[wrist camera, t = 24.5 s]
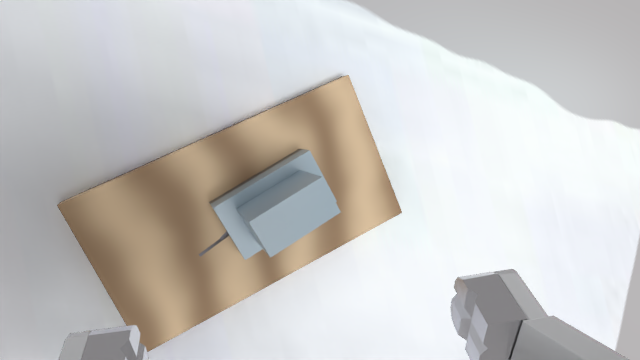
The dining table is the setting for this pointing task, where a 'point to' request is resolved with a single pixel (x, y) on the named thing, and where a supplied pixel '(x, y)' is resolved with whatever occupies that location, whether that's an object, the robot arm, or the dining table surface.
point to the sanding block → (277, 205)
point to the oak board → (203, 223)
